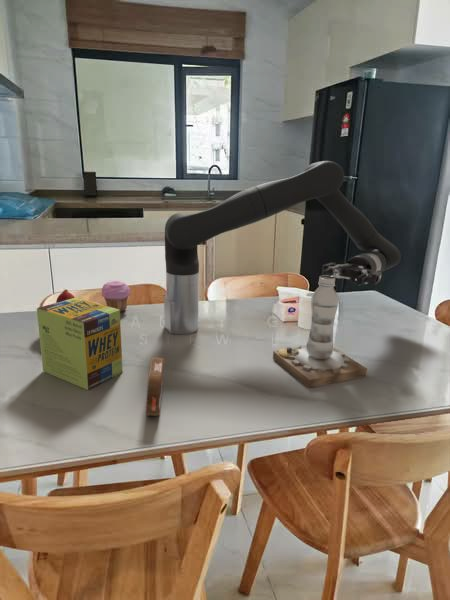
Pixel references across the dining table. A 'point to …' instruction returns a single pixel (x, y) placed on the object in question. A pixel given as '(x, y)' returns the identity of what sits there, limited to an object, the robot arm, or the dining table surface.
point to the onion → (64, 296)
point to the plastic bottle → (323, 319)
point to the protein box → (80, 341)
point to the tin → (155, 387)
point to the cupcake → (116, 294)
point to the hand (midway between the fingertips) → (340, 278)
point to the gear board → (318, 366)
